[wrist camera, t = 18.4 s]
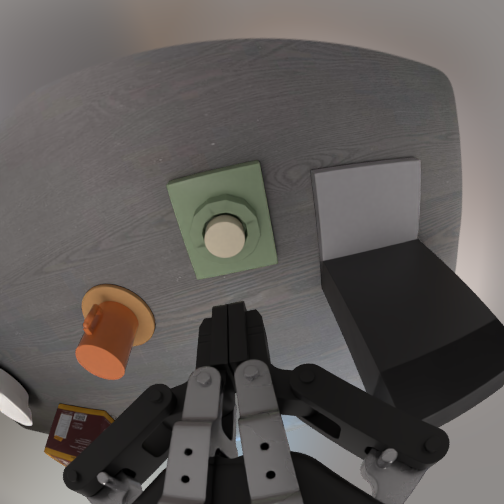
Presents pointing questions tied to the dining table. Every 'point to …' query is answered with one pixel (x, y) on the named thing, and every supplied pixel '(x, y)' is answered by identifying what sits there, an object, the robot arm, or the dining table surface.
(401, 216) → the l-shaped bookend
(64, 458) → the supplement box
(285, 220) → the dining table surface
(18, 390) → the bowl
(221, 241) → the power button
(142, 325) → the coaster
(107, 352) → the cup
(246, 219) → the button block
